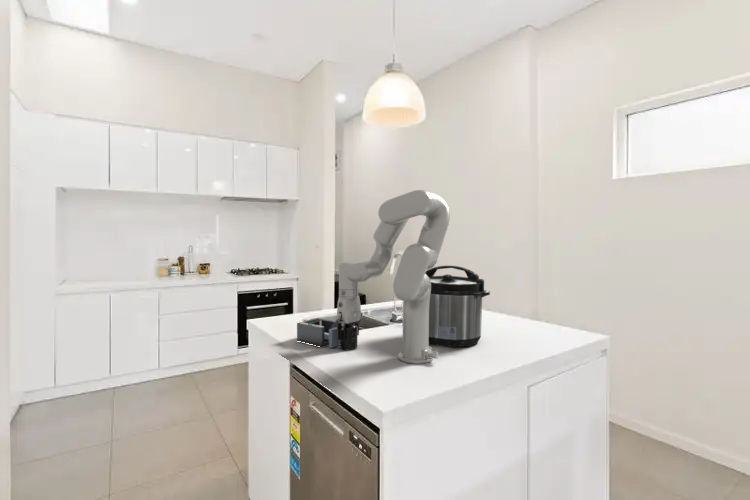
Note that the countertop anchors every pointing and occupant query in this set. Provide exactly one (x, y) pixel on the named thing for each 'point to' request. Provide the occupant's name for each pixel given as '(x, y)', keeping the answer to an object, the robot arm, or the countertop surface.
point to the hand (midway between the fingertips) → (348, 337)
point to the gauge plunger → (330, 335)
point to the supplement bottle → (350, 337)
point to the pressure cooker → (455, 308)
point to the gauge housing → (314, 331)
